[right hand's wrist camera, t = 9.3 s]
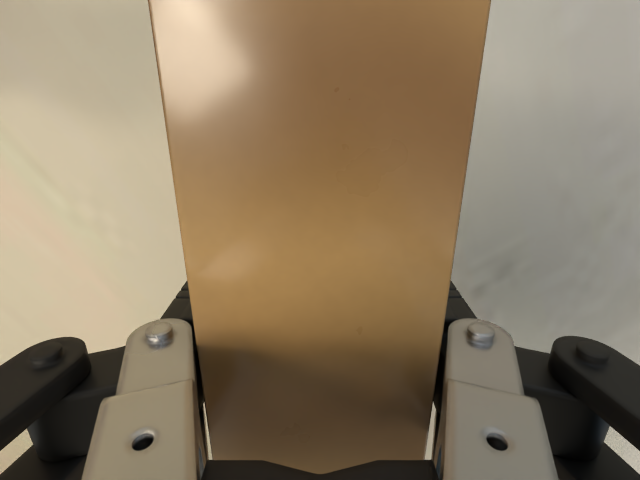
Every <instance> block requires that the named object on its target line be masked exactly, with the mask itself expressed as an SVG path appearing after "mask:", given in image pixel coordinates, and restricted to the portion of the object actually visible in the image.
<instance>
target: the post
mask: <svg viewBox="0 0 640 480" xmlns="http://www.w3.org/2000/svg"><path fill="white" fill-rule="evenodd" d="M148 4H149V11H150V18H151V25H152V32H153V39H154V46H155V54H156V61H157V68H158V75H159V82H160V89H161V96H162V103H163V110H164V117H165V125H166V132H167V139H168V146H169V153H170V160H171V167H172V174H173V181H174V188H175V196H176V203H177V210H178V217H179V224H180V231H181V238H182V245H183V252H184V259H185V267H186V274H187V281H188V288H189V295H190V302H191V309H192V316H193V323H194V330H195V337H196V345H197V352H198V359H199V366H200V373H201V380H202V387H203V394H204V401H205V408H206V416H207V423H208V430H209V437H210V444H211V451H212V458H213V460H264V461H268V462H272V463H276V464H280V465H284V466H287V467H291V468H295V469H299V470H303V471H307V472H311V473H315V474H325V473H329V472H333V471H337V470H341V469H345V468H349V467H353V466H356V465H360V464H364V463H368V462H372V461H376V460H424V459H425V452H426V445H427V438H428V432H429V425H430V418H431V411H432V404H433V397H434V390H435V383H436V376H437V369H438V363H439V356H440V349H441V342H442V335H443V328H444V321H445V314H446V307H447V301H448V294H449V287H450V280H451V273H452V266H453V259H454V252H455V245H456V239H457V232H458V225H459V218H460V211H461V204H462V197H463V190H464V183H465V177H466V170H467V163H468V156H469V149H470V142H471V135H472V128H473V121H474V114H475V108H476V101H477V94H478V87H479V80H480V73H481V66H482V59H483V52H484V46H485V39H486V32H487V25H488V18H489V11H490V4H491V0H148Z"/></svg>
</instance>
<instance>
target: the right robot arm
mask: <svg viewBox="0 0 640 480" xmlns="http://www.w3.org/2000/svg"><path fill="white" fill-rule="evenodd" d="M433 402H434V405H435V408H436V414H435V422H434V434H433V446H432V459H431V460H376V461H372V462H368V463H364V464H360V465H356V466H353V467H349V468H345V469H341V470H337V471H333V472H329V473H325V474H315V473H311V472H307V471H303V470H299V469H295V468H291V467H287V466H284V465H280V464H276V463H272V462H268V461H264V460H209V459H208V446H207V434H206V422H205V414H204V407H203V403H204V394H203V387H202V380H201V373H200V366H199V359H198V352H197V345H196V337H195V330H194V323H193V316H192V309H191V302H190V295H189V288H188V281H186V283H185V284H184V286H183V287H182V289H181V291H179V293H178V294H177V296H176V299H174V300H173V301H172V303H171V304H170V306H169V307H168V309H167V310H166V311H165V313H164V314H163V316H162V317H161V319H160V320H156V321H152V322H149V323H147V324H145V325H143V326H141V327H139V328H138V329H136V330H135V331H134V332H132V333H131V335H130V336H129V337H128V339H127V342H126V346H123V347H120V348H116V349H111V350H106V351H101V352H96V353H91V354H88V352H87V348H86V345H85V343H84V342H83V341H82V340H81V339H78V338H74V337H61V338H55V339H51V340H47V341H44V342H41V343H38V344H36V345H33V346H31V347H29V348H27V349H26V350H24V351H22V352H21V353H19V354H18V355H16V356H15V357H13V358H11V359H10V360H8V361H7V362H5V363H4V364H2V365H1V366H0V451H1V450H2V449H3V448H4V447H5V446H7V445H8V444H9V443H10V442H11V441H12V440H14V439H15V438H16V437H17V436H18V435H19V434H21V433H22V432H23V431H24V430H25V429H27V430H28V432H29V435H30V437H31V440H32V442H33V445H32V446H31V447H30V448H29V449H28V450H27V451H26V452H25V453H24V454H22V455H21V456H20V457H19V458H18V459H17V460H16V461H15V462H14V463H13V464H11V465H10V466H9V467H8V468H7V469H6V470H5V471H4V472H3V473H2V474H0V480H640V474H638V473H637V472H636V471H635V470H634V469H633V468H632V467H631V466H630V465H629V464H627V463H626V462H625V461H624V460H623V459H622V458H621V457H620V456H619V455H617V454H616V453H615V452H614V451H613V450H612V449H611V448H610V447H609V446H608V445H606V444H605V443H604V439H605V437H606V434H607V432H608V429H609V426H611V427H612V428H613V429H615V430H616V431H617V432H618V433H619V434H621V435H622V436H623V437H624V438H625V439H626V440H628V441H629V442H630V443H631V444H632V445H633V446H635V447H636V448H637V449H638V450H639V451H640V366H639V365H638V364H636V363H635V362H633V361H632V360H630V359H629V358H627V357H625V356H624V355H622V354H621V353H619V352H618V351H616V350H614V349H613V348H611V347H609V346H607V345H605V344H603V343H600V342H598V341H595V340H592V339H588V338H584V337H577V336H564V337H560V338H558V339H556V340H555V341H554V343H553V346H552V349H551V353H550V354H549V353H544V352H539V351H534V350H529V349H524V348H520V347H516V346H514V342H513V339H512V337H511V336H510V335H509V333H508V332H506V331H505V330H504V329H502V328H501V327H499V326H497V325H495V324H493V323H491V322H488V321H484V320H480V319H477V318H476V316H475V315H474V313H473V312H472V310H471V309H470V308H469V306H468V305H467V303H466V302H465V300H464V299H463V298H462V296H461V295H460V293H459V292H458V290H456V287H455V286H454V284H453V283H452V281H451V280H450V287H449V294H448V301H447V307H446V314H445V321H444V328H443V335H442V342H441V349H440V356H439V363H438V369H437V376H436V383H435V390H434V397H433Z"/></svg>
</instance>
